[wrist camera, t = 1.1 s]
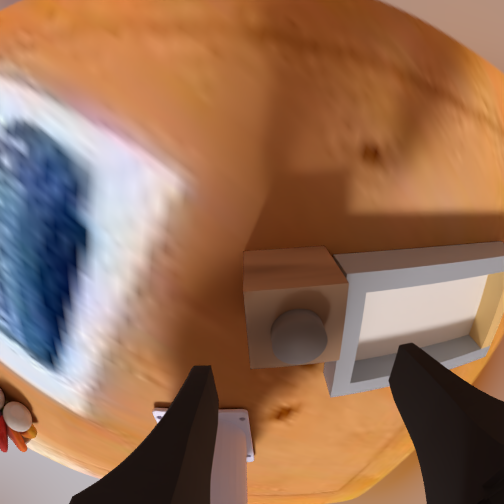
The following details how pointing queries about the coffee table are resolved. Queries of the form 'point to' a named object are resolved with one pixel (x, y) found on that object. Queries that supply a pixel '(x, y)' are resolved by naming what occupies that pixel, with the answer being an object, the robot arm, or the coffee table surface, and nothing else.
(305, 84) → the coffee table surface
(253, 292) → the block with grey knob
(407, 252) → the tray
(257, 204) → the coffee table surface
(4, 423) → the rainbow flower
